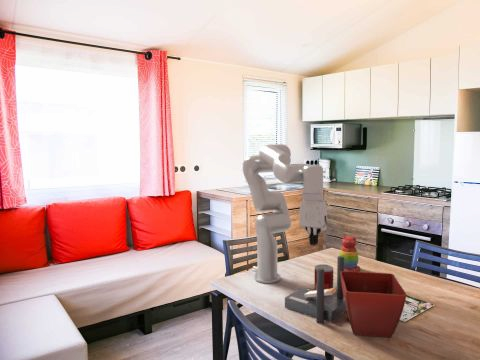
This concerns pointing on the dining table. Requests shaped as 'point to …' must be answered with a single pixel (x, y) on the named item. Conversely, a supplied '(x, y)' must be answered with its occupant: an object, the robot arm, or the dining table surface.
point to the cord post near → (320, 296)
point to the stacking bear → (349, 254)
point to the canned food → (325, 276)
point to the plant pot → (372, 302)
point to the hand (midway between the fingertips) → (313, 244)
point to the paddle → (326, 292)
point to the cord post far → (339, 276)
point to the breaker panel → (315, 304)
